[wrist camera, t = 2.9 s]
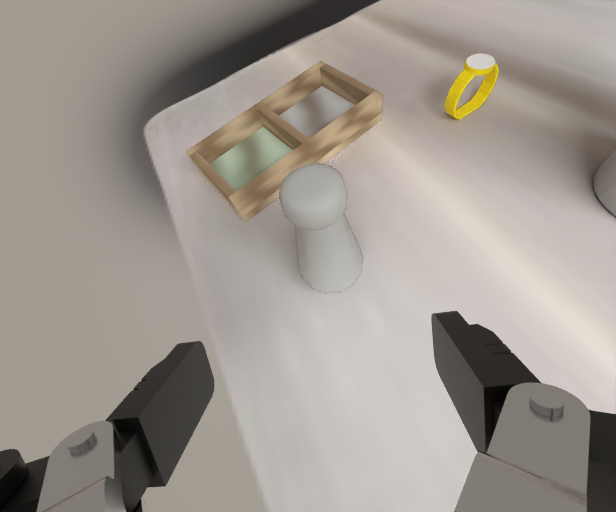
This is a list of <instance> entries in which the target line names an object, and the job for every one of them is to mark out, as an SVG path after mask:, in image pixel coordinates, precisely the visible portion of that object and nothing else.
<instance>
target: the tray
mask: <svg viewBox="0 0 616 512" xmlns="http://www.w3.org/2000/svg"><path fill="white" fill-rule="evenodd" d="M381 120H382V93H380V92H378V91H376V90H375V89H373V88H371V87H369V86H367V85H365V84H363V83H361V82H359V81H358V80H356V79H354V78H352V77H350V76H348V75H346V74H344V73H342V72H341V71H339V70H337V69H335V68H333V67H331V66H329V65H327V64H325V63H323V62H322V61H320V62H318V63H317V64H315V65H314V66H312V67H311V68H309V69H308V70H306V71H305V72H303V73H302V74H300V75H299V76H297V77H296V78H294V79H293V80H291V81H290V82H289V83H287V84H286V85H284V86H283V87H281V88H280V89H278V90H277V91H275V92H274V93H272V94H271V95H269V96H268V97H266V98H265V99H263V100H262V101H260V102H259V103H257V104H256V105H254V106H253V107H251V108H250V109H248V110H247V111H245V112H244V113H242V114H241V115H239V116H238V117H236V118H235V119H233V120H232V121H231V122H229V123H228V124H226V125H225V126H223V127H222V128H220V129H219V130H217V131H216V132H214V133H213V134H211V135H210V136H208V137H207V138H205V139H204V140H202V141H201V142H199V143H198V144H196V145H195V146H193V147H192V148H190V149H189V150H187V151H186V152H187V154H188V155H189V157H190V158H191V160H192V161H193V163H194V164H195V166H196V167H197V169H198V170H199V172H200V173H201V174H202V175H203V176H204V177H205V178H206V179H207V181H208V182H209V183H210V184H211V185H212V186H213V187H214V188H215V189H216V190H217V192H218V193H219V194H220V195H221V196H222V197H223V198H224V199H225V200H226V201H227V203H228V204H229V205H230V206H231V207H232V208H233V209H234V210H235V211H236V212H237V214H238V215H239V216H240V217H241V218H242V219H243V220H244V221H245V222H246V221H247V220H249V219H250V218H251V217H253V216H254V215H255V214H257V213H258V212H259V211H261V210H262V209H263V208H265V207H266V206H267V205H269V204H270V203H271V202H273V201H274V200H275V199H277V198H278V197H279V190H280V187H281V184H282V181H283V180H284V179H285V178H286V176H287V175H288V174H289V173H290V172H291V171H293V170H295V169H297V168H299V167H301V166H303V165H306V164H313V163H321V164H323V163H325V162H326V161H327V160H329V159H330V158H331V157H333V156H334V155H335V154H337V153H338V152H339V151H341V150H342V149H343V148H345V147H346V146H347V145H349V144H350V143H351V142H353V141H354V140H355V139H357V138H358V137H359V136H361V135H362V134H363V133H365V132H366V131H367V130H369V129H370V128H371V127H373V126H374V125H375V124H377V123H378V122H379V121H381Z"/></svg>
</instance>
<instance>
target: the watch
mask: <svg viewBox="0 0 616 512" xmlns="http://www.w3.org/2000/svg"><path fill="white" fill-rule="evenodd" d="M498 72H499V70H498V64H497V63H495V59H494V58H493V57H492V56H490V55H488V54H474V55H472V56H470V57H468V58H467V59H466V61H465V65H464V70H463V71H462V72H461V73H460V75H459V76H458V77H457V79H456V80H455V81H454V83H453V85H452V87H451V88H450V90H449V93H448V95H447V99H446V102H445V108H446V112H447V113H448V114H449V115H451V116H452V117H454V118H456V119H458V120H460V119H462V118H463V117H465V116H466V115H468V114H470V113H471V112H473V111H474V110H476V109H479V107H480V106H481V105H482V104H483V102H484V101H485V100H486V99H487V97H488V96H489V94H490V93H491V91H492V89H493V87H494V86H495V83H496V80H497V77H498V74H499V73H498ZM475 75H485V78H484V81H483V82H482V84H481V86H480V88H479V90H478V92H477V93H476V94H475V95H474V97H473V98H472V99H471V100H470V102H468V103H466V104H465V105H463V106H462V107H460V108H459V109H457V110H456V107H457V104H458V101H459V97H460V96H461V94H462V93H463V91H464V89H465V87H466V86H467V84H468V83H469V82H470V81H471V80H472V79H473V78H474V76H475Z"/></svg>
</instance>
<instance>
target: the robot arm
mask: <svg viewBox="0 0 616 512" xmlns="http://www.w3.org/2000/svg"><path fill="white" fill-rule="evenodd" d="M593 183H594V189H595V192H596V194H597V196H598V199H599V200H600V201H601V203H602V204H603V205H604V206H605V207H606V208H607V209H608V210H609V211H610V212H611V213H613V214H614V215H615V216H616V149H615V150H614V151H613V153H612V154H611V155H610V156H609V157H608V158H607V159H606V160H605V162H604V163H603V164H602V165H601V166H600V167H599V169H598V170H597V172H596V174H595V177H594V182H593ZM431 320H432V334H433V347H434V358H435V363H436V367H437V370H438V373H439V376H440V378H441V380H442V382H443V384H444V386H445V388H446V390H447V392H448V394H449V396H450V398H451V400H452V402H453V404H454V406H455V408H456V410H457V412H458V414H459V416H460V418H461V420H462V422H463V424H464V426H465V428H466V430H467V432H468V434H469V435H470V437H471V439H472V441H473V443H474V445H475V447H476V449H477V451H478V453H477V454H476V456H475V459H474V461H473V464H472V466H471V469H470V471H469V474H468V477H467V479H466V482H465V485H464V487H463V490H462V492H461V495H460V498H459V500H458V503H457V506H456V508H455V511H454V512H616V414H610V413H603V412H597V411H592V410H588V409H587V407H586V406H585V405H584V404H583V403H582V401H580V400H579V399H578V398H577V397H575V396H574V395H572V394H571V393H569V392H567V391H565V390H563V389H560V388H558V387H555V386H551V385H547V384H543V383H541V382H540V381H539V380H538V379H537V378H536V377H535V376H534V375H533V374H532V373H531V372H530V371H529V369H528V368H527V367H526V366H525V365H524V364H523V363H522V362H521V361H520V360H519V359H518V358H517V357H516V356H515V355H514V354H513V353H511V350H510V349H509V348H508V347H507V346H506V345H505V344H503V342H502V341H501V340H500V339H499V338H498V337H497V336H496V335H495V334H494V332H492V331H490V330H488V329H486V328H484V327H483V326H481V325H479V324H474V325H469V324H468V323H467V322H466V321H465V320H464V318H463V317H462V316H461V315H460V314H459V313H458V312H457V311H450V312H442V313H434V314H432V319H431ZM213 392H214V378H213V375H212V371H211V368H210V364H209V361H208V358H207V354H206V351H205V348H204V346H203V344H202V342H200V341H196V342H187V343H180V344H177V345H176V346H175V348H174V349H173V350H172V351H171V352H170V353H169V355H168V356H167V357H166V358H165V359H164V360H163V361H161V362H160V363H158V364H157V365H156V366H154V367H153V368H151V369H150V371H149V372H148V373H147V374H146V375H145V376H144V377H143V378H142V381H141V382H139V383H138V384H137V385H136V386H135V387H134V390H133V391H131V392H130V393H129V394H128V395H127V397H126V398H125V399H124V400H123V401H122V402H121V403H120V404H119V406H118V407H117V408H116V409H115V410H114V411H113V413H112V414H111V415H110V416H109V417H108V418H107V419H106V420H105V421H100V422H95V423H92V424H89V425H86V426H84V427H82V428H80V429H78V430H77V431H75V432H73V433H72V434H70V435H69V436H68V437H66V438H65V439H64V440H63V441H62V442H60V443H59V444H58V445H57V447H56V448H55V449H54V450H53V451H52V453H51V455H50V456H48V457H45V458H42V459H39V460H36V461H33V462H30V463H26V464H25V462H24V460H23V458H22V457H21V455H20V453H19V451H18V450H15V449H9V450H4V451H1V452H0V512H147V509H146V503H145V500H144V498H143V494H144V492H145V490H146V489H147V487H160V486H166V484H167V482H168V481H169V479H170V477H171V475H172V473H173V471H174V469H175V467H176V465H177V463H178V461H179V459H180V457H181V455H182V453H183V452H184V450H185V448H186V446H187V444H188V442H189V440H190V438H191V436H192V434H193V432H194V430H195V428H196V427H197V425H198V423H199V421H200V419H201V417H202V415H203V413H204V411H205V409H206V407H207V405H208V403H209V401H210V399H211V398H212V395H213Z"/></svg>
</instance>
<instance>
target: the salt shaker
mask: <svg viewBox="0 0 616 512" xmlns="http://www.w3.org/2000/svg"><path fill="white" fill-rule="evenodd" d="M279 199H280V203H281V207H282V210H283V212H284V214H285V216H286V217H287V218H288V219H289V220H290V221H291V222H292V223H293V224H294V225H295V233H296V245H297V257H298V266H299V270H300V273H301V277H302V278H303V279H304V280H305V281H306V282H307V283H308V285H309V286H310V287H311V288H312V289H315V290H318V291H320V292H323V293H336V292H338V293H340V292H341V291H343V290H345V289H347V288H349V287H351V286H352V285H353V284H354V283H355V282H356V280H357V279H358V278H359V276H360V275H361V273H362V267H363V259H364V258H363V255H362V252H361V249H360V247H359V244H358V242H357V240H356V238H355V236H354V233H353V231H352V229H351V227H350V225H349V223H348V220H347V218H346V216H345V214H344V212H345V210H346V204H347V199H348V190H347V188H346V185H345V182H344V180H343V177H342V175H341V173H340V172H339V171H337V170H336V169H335V168H333V167H332V166H330V165H325V164H321V163H313V164H306V165H303V166H301V167H299V168H297V169H295V170H293V171H291V172H290V173H289V174H288V175H287V176H286V178H285V179H284V180H283V181H282V184H281V187H280V190H279Z"/></svg>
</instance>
